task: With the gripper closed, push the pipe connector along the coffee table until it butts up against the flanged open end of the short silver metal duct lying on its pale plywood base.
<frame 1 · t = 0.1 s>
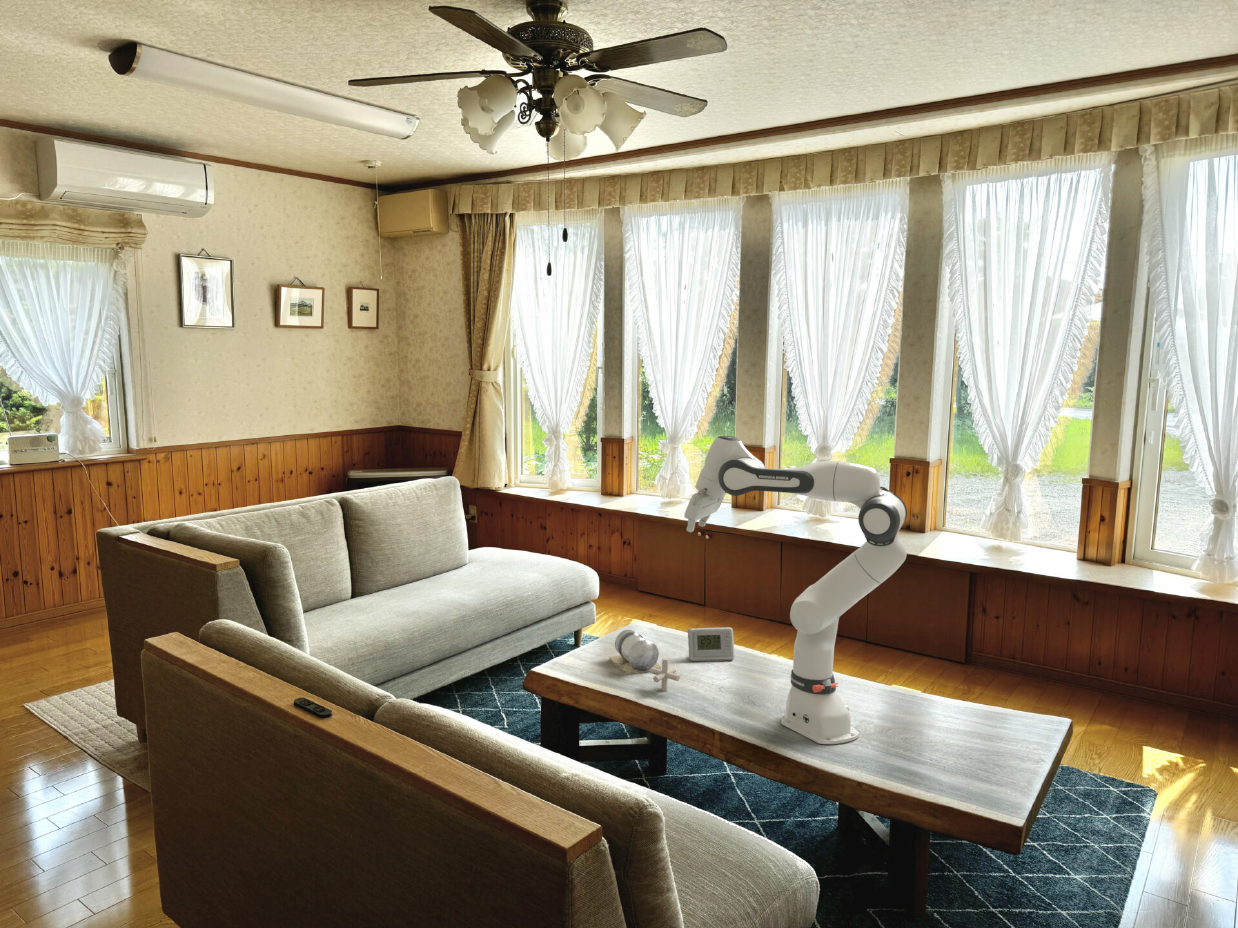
hand: (695, 528, 251), 52 cm above the table, tool tilted 20°, fingers open, 8 cm apart
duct: (634, 664, 281), on the table
digital clock: (710, 659, 288), on the table
pipe connector: (664, 690, 260), on the table
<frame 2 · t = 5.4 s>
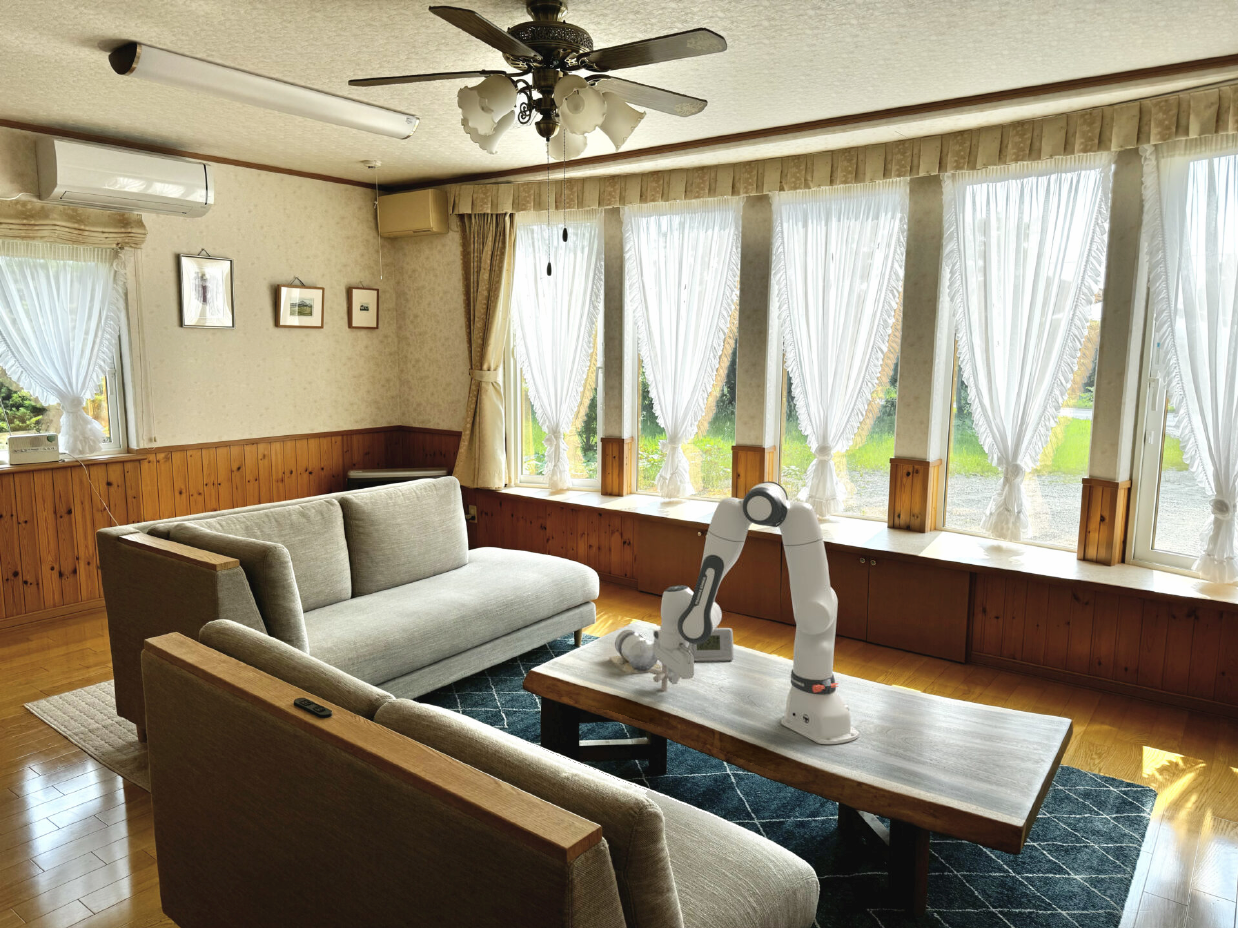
hand: (672, 682, 254), 5 cm above the table, tool pointing down, fingers closed
pipe connector: (664, 690, 260), on the table, touching gripper
everything else where it was.
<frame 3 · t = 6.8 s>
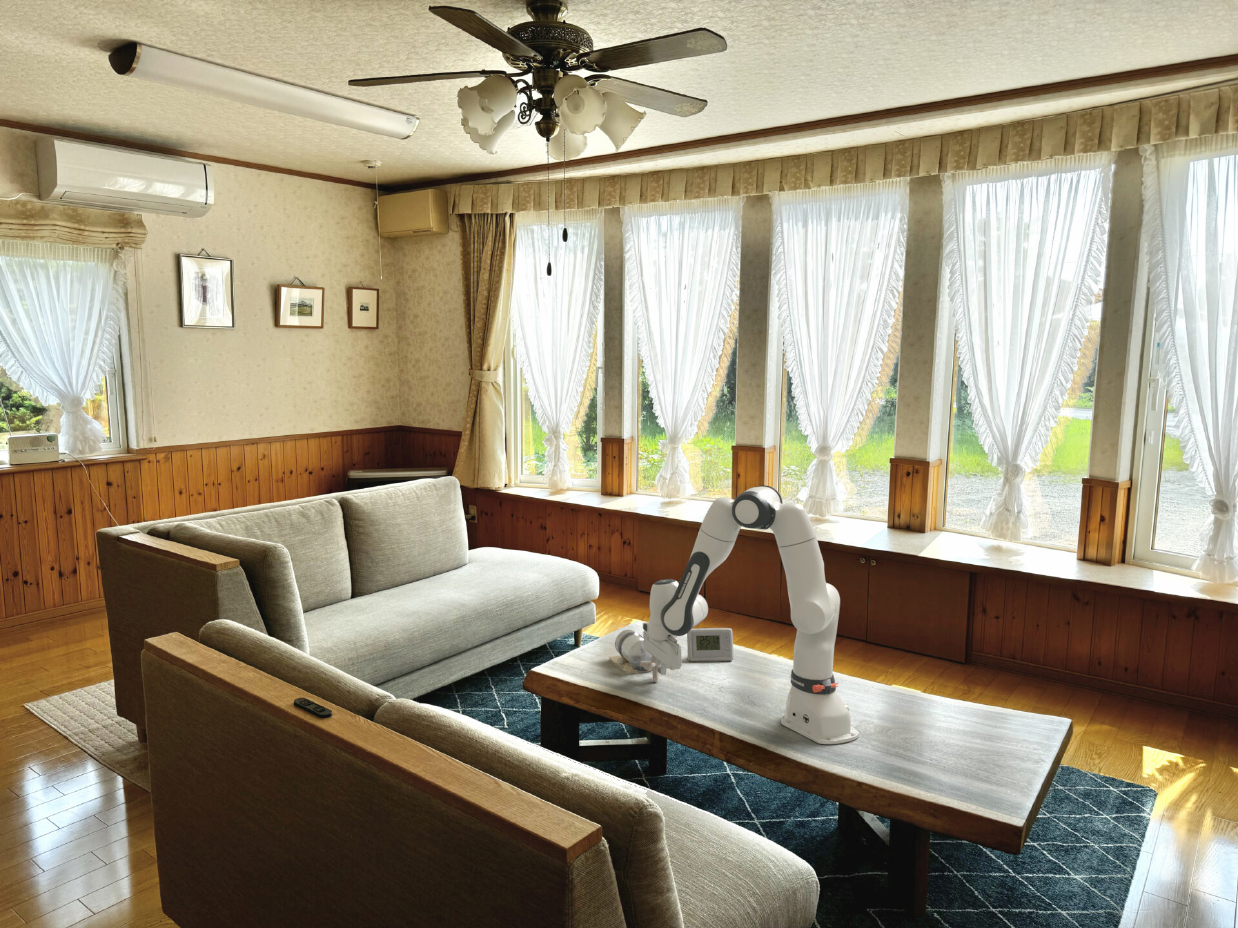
hand: (661, 673, 261), 5 cm above the table, tool pointing down, fingers closed
pipe connector: (655, 681, 266), on the table, touching gripper
everything else where it was.
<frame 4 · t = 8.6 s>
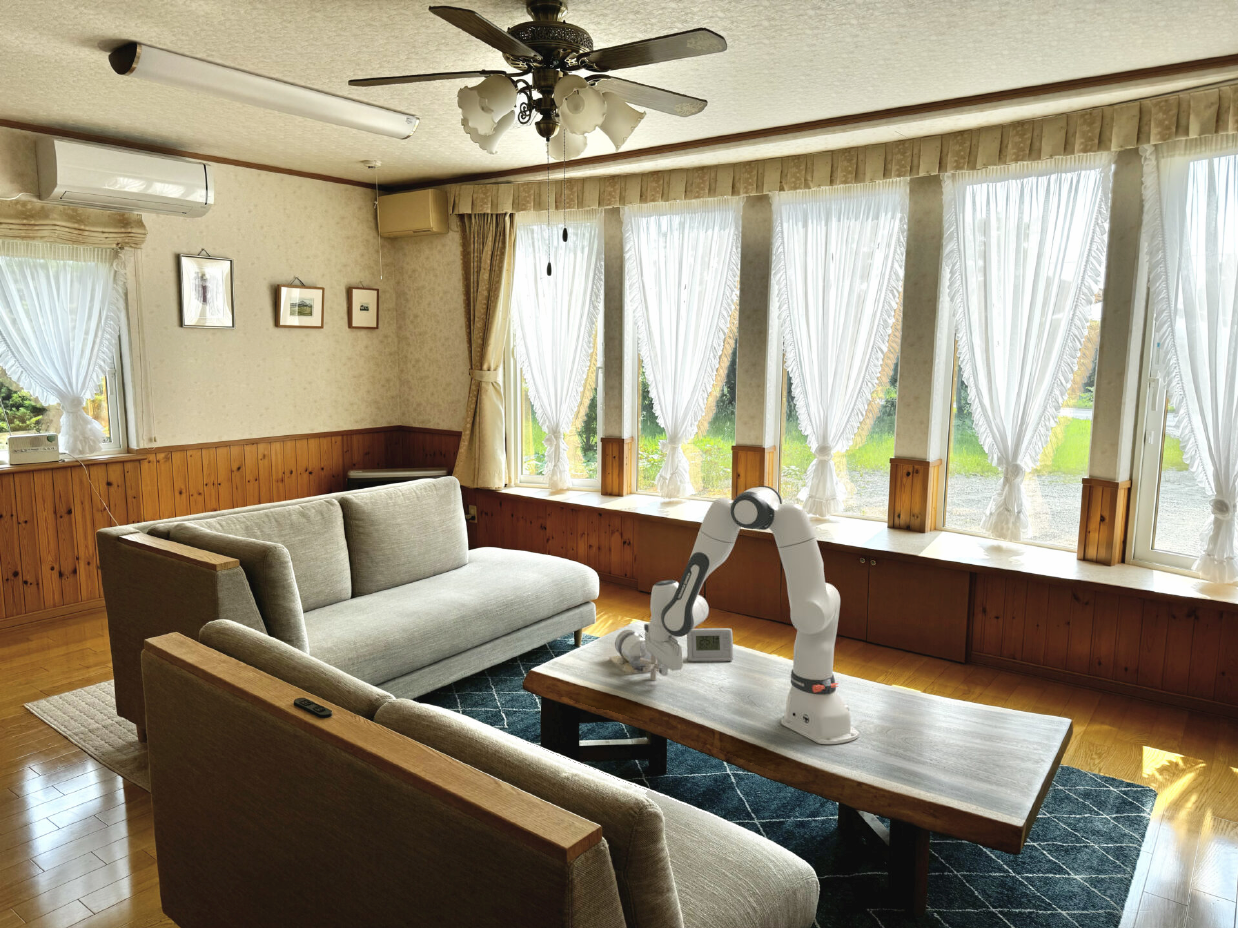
hand: (662, 674, 262), 4 cm above the table, tool pointing down, fingers closed
pipe connector: (653, 679, 269), on the table
everything else where it was.
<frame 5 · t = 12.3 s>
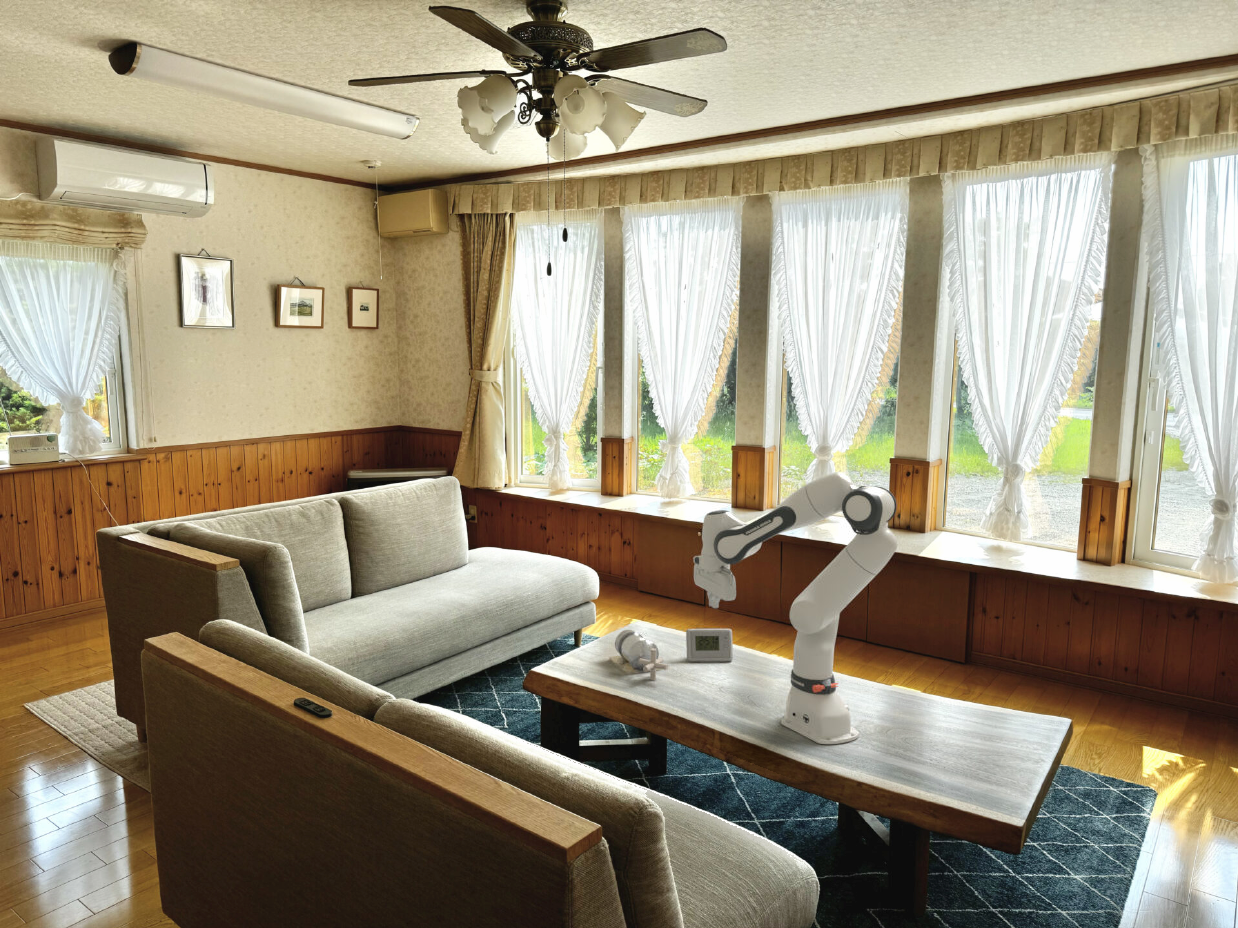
hand: (713, 606, 256), 27 cm above the table, tool pointing down, fingers closed
at the end: pipe connector inside the target area (1.5 cm from its centre), on the table; pipe connector moved 8.8 cm from its start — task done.
